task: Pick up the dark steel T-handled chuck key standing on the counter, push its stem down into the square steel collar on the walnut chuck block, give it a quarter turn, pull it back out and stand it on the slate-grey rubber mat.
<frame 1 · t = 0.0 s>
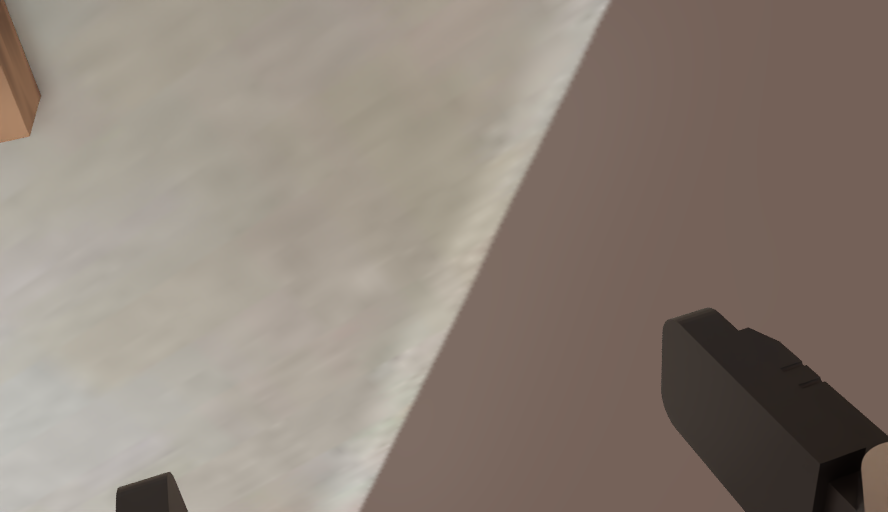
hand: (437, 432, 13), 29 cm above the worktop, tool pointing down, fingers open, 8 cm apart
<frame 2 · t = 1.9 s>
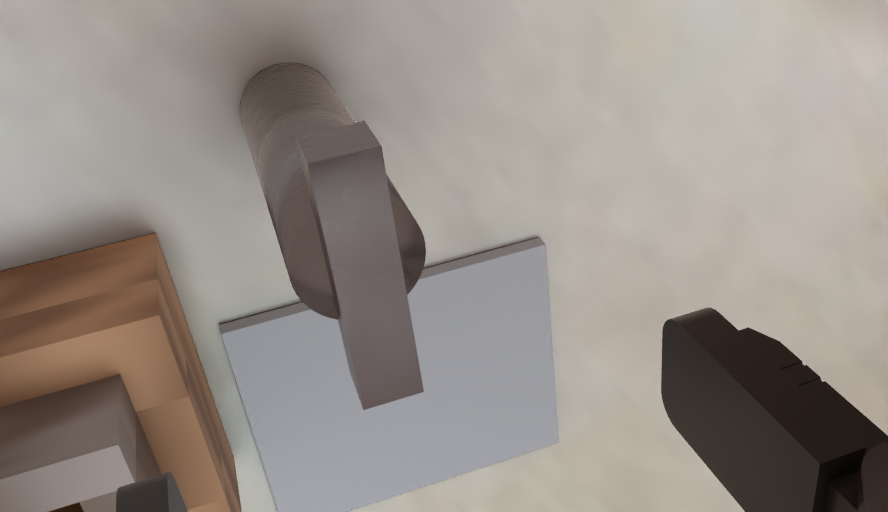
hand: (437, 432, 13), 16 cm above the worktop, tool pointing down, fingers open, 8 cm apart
chuck key: (289, 110, 26), on the worktop
mat: (405, 385, 33), on the worktop
chuck block: (50, 396, 29), on the worktop
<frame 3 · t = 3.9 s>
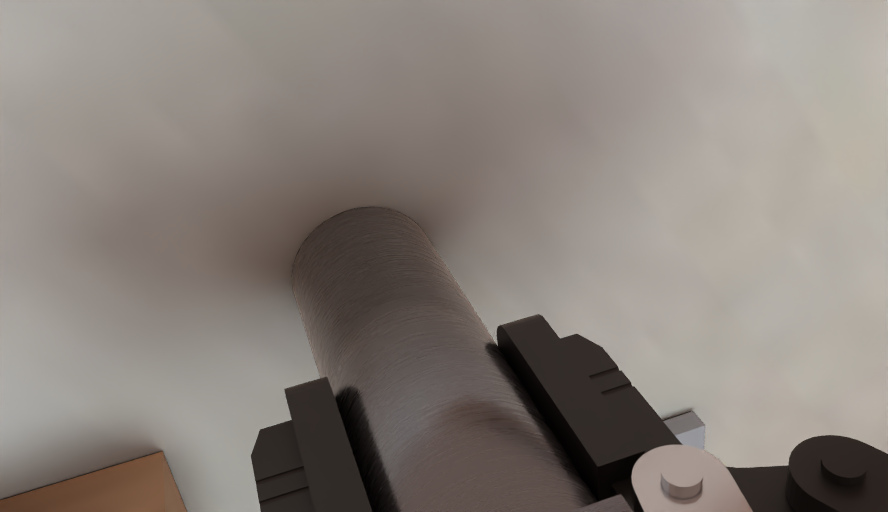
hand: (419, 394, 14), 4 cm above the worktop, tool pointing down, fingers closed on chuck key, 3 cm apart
chuck key: (364, 272, 18), on the worktop, touching gripper
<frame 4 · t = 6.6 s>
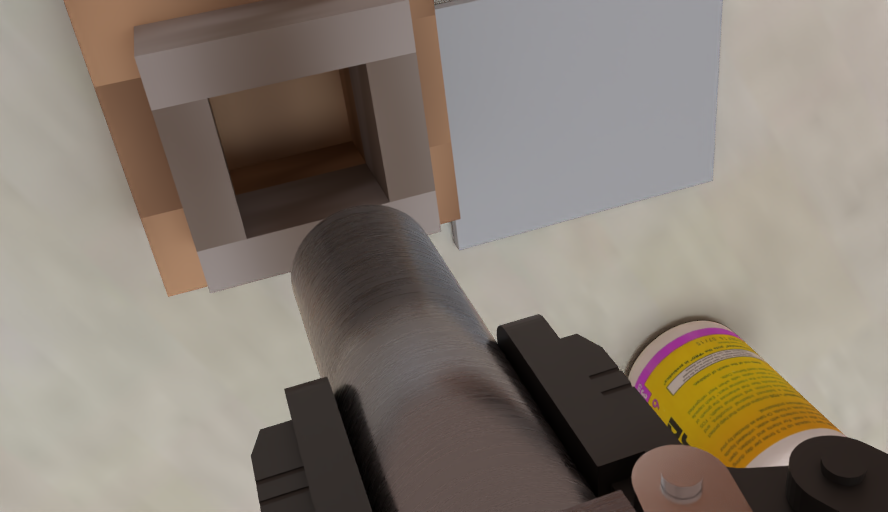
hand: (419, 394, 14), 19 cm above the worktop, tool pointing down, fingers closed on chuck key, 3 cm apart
chuck key: (363, 270, 17), point 15 cm above the worktop, touching gripper
mat: (580, 100, 34), on the worktop
chuck block: (265, 69, 30), on the worktop
supplement bottle: (676, 367, 44), on the worktop
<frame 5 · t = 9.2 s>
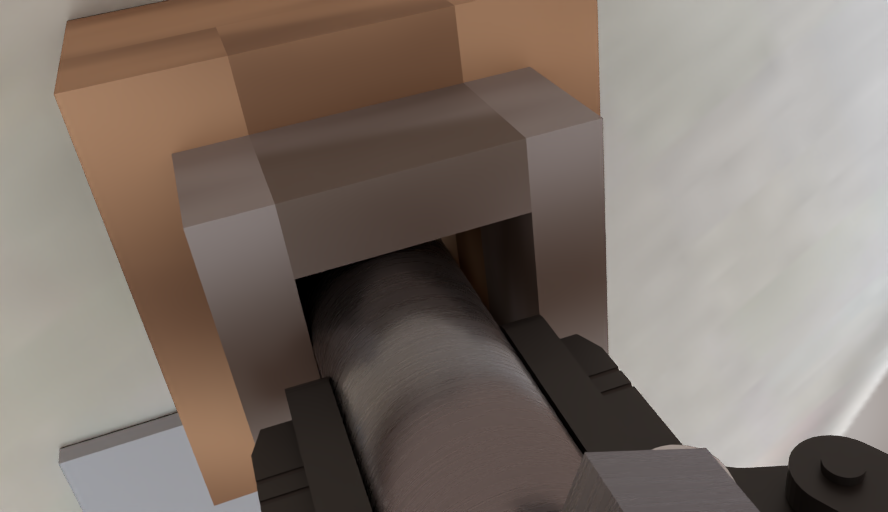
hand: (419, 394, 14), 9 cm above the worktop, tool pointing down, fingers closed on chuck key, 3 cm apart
chuck key: (357, 243, 17), point 5 cm above the worktop, touching gripper
chuck block: (336, 171, 22), on the worktop
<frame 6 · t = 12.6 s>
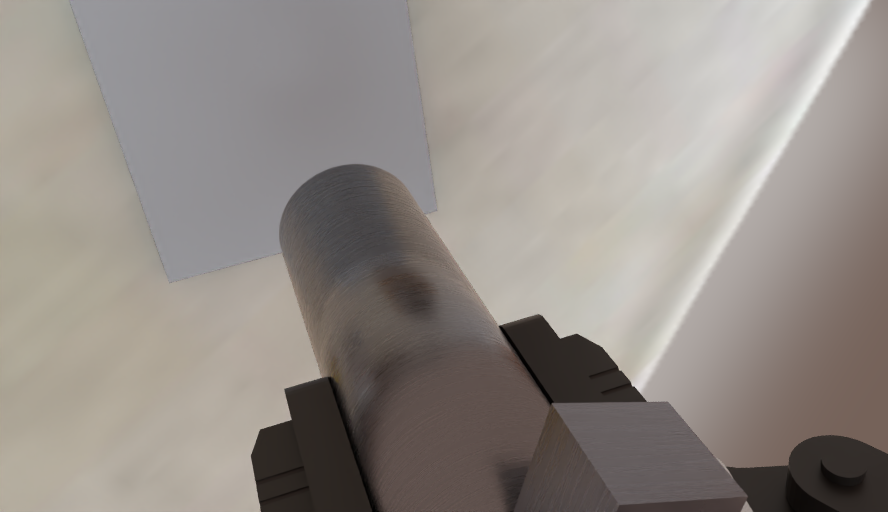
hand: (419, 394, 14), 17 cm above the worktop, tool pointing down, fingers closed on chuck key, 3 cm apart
chuck key: (349, 229, 18), point 12 cm above the worktop, touching gripper
mat: (267, 84, 28), on the worktop
when the fingers open (6 cm above the worktop, at t = 14.8 s): chuck key stays where it is, resting on mat.
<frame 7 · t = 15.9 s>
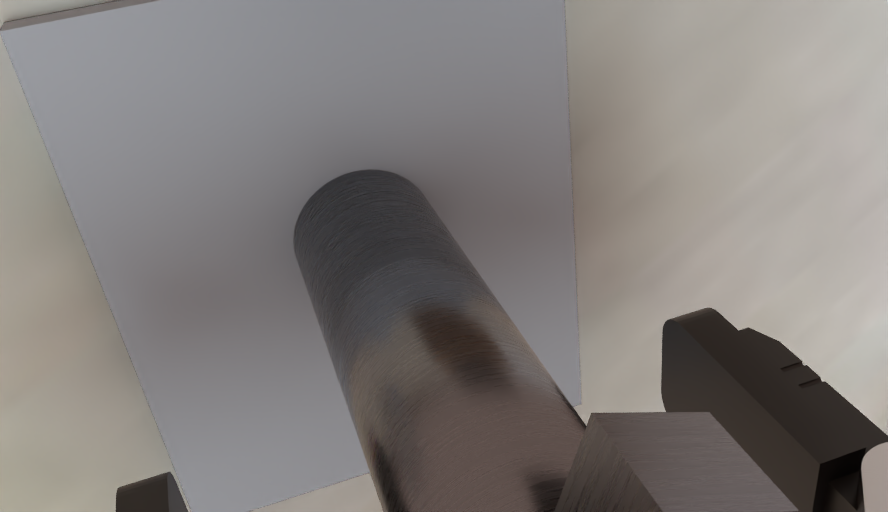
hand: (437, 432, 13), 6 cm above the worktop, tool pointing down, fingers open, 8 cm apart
chuck key: (365, 235, 18), point 1 cm above the worktop, touching mat
mat: (351, 248, 18), on the worktop
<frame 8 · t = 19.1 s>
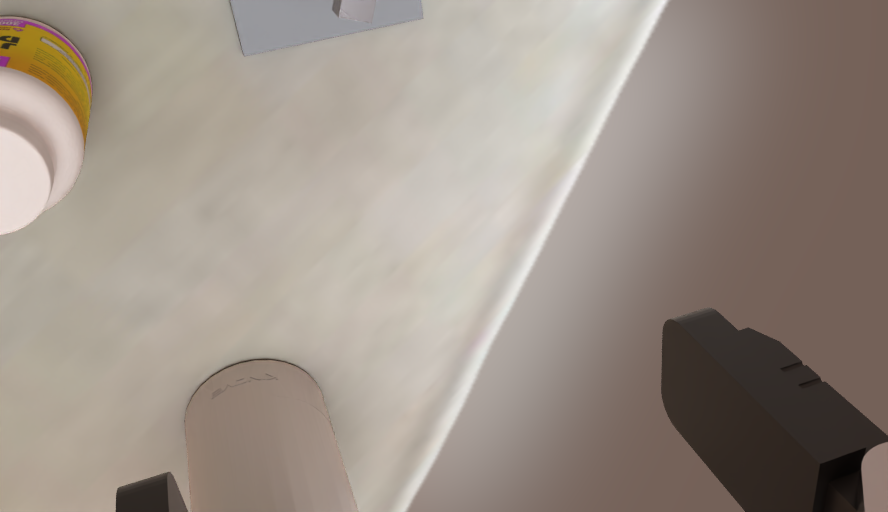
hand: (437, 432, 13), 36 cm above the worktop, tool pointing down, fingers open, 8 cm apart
supplement bottle: (21, 78, 43), on the worktop
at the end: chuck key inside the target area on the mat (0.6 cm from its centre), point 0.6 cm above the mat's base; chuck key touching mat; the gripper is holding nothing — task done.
